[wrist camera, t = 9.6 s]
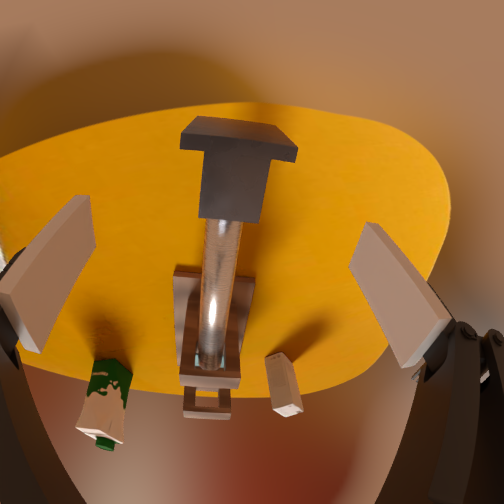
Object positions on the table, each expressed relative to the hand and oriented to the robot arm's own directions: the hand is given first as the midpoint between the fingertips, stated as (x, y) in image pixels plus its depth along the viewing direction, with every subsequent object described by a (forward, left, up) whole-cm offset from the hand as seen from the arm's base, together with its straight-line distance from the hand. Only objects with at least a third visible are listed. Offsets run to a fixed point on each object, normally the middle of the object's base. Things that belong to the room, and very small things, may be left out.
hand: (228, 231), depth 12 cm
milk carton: (-22, -51, -22) cm, 60 cm away
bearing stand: (0, -32, -22) cm, 39 cm away
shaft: (0, -12, -15) cm, 19 cm away
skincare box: (+15, -42, -22) cm, 50 cm away
